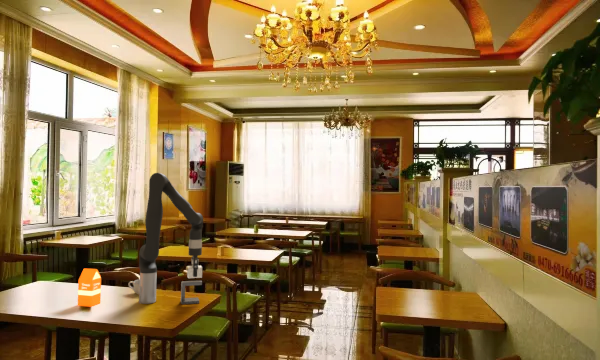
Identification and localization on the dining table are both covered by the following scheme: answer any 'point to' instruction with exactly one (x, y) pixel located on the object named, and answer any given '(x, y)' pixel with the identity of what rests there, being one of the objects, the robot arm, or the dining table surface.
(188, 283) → the stand
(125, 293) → the dining table surface
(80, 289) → the orange juice
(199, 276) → the white rounded block
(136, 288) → the teacup
